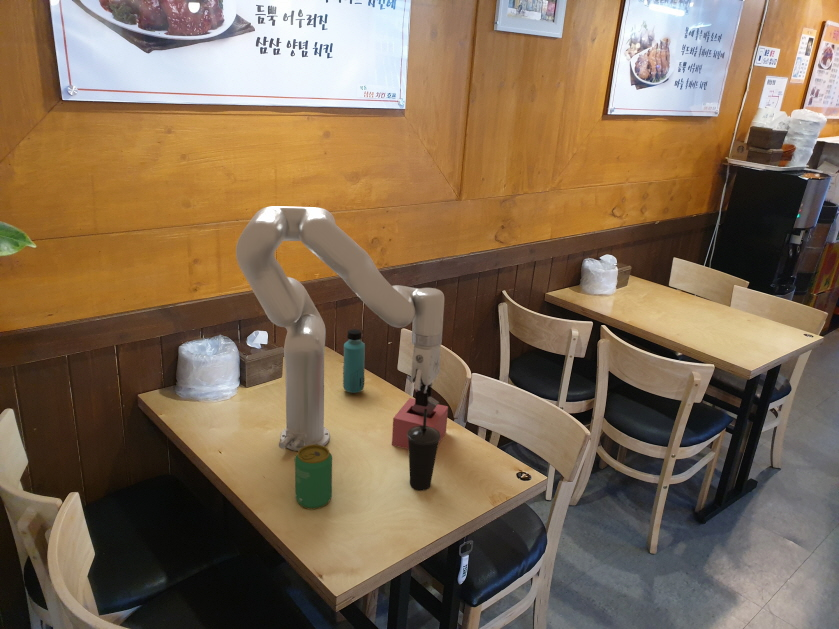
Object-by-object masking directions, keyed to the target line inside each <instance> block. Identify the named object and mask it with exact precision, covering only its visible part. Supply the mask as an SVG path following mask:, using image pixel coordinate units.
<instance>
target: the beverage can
mask: <svg viewBox="0 0 839 629" xmlns="http://www.w3.org/2000/svg"><path fill="white" fill-rule="evenodd" d="M294 477H295V478H294V487H295V488H294V489H295V491H294V492H295V496H294V497H295V500H296V501H297V504H298V505H299V506H300V507H302V508H304V509H306V510H318V509H322V508H323V507H325V506H326V505H328V504H329V502H330V500H331V499H332V497H333V495H332V494H333V492H332V491H333V486H332V485H333V456H332V453H331V452H330V450H329V449H328V447H327V446H322V445H307V446H304V447H302V448H301V449H300V450H299V451H297V454H296V455H295V457H294Z"/></svg>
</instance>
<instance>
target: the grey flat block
mask: <svg viewBox="0 0 839 629" xmlns="http://www.w3.org/2000/svg"><path fill="white" fill-rule="evenodd" d="M438 404H440V402H439V401H438V400H436V399H435V398H434V397H432V395H431V396H429V395H428V404H427V406H426V407H425V406H420V405H416V404H414V406H413V407H412V410H414V411H415V412H417V413H418V414H419V415H421V416H423V417H424V409H427V418H429V417H430V415H431V414H432V412H433V411H434V409H435V408H436V406H437V405H438Z"/></svg>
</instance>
